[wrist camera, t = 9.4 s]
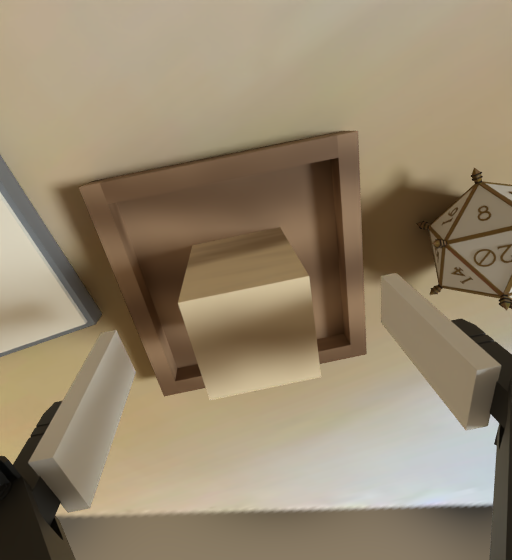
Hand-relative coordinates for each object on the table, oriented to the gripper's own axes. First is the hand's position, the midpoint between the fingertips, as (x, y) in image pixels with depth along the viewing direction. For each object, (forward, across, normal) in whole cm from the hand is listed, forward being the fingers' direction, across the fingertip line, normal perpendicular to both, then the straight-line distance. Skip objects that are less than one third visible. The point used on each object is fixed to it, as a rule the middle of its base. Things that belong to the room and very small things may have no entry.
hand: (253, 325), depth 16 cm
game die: (+9, +16, -1) cm, 18 cm away
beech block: (+7, 0, -1) cm, 7 cm away
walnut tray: (+8, 0, -1) cm, 8 cm away
